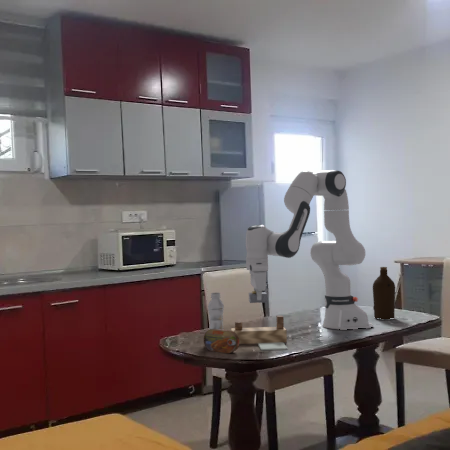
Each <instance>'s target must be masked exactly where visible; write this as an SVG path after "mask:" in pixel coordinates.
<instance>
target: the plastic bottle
mask: <svg viewBox="0 0 450 450" xmlns="http://www.w3.org/2000/svg"><path fill="white" fill-rule="evenodd" d="M210 296H211V297H210V298H211V300H210V301H209V303H208V304H207V311H208V315H209V316H208V317H209V327H208V328H209V329H208V330H210V329H220V330H224V323H223V319H224V318H223V317H224V308H225V306H224V303H223V301H222V300H221V299H220V298H221V292H212V293H210Z"/></svg>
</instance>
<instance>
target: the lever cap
mask: <svg viewBox="0 0 450 450" xmlns="http://www.w3.org/2000/svg"><path fill="white" fill-rule="evenodd" d="M248 302H249V303H250V304H257V303H268V293H267V292H266V291H262V295H261V300H257V292H256V291H254V290H253V291H251V292H248Z"/></svg>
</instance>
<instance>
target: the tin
mask: <svg viewBox="0 0 450 450" xmlns="http://www.w3.org/2000/svg"><path fill="white" fill-rule="evenodd" d="M203 343H204V344H203V345H204V346H205V348H206V349H207V350H209V351H210V352H214V351H215V352H217V353H222V354H230V353H234V352H236V351H237V350H238V349H239V347H240V344H239V337H238V335H237V334H236V333H235V332H234V331H231V329H229V330H228V329H223V330H220V329H210V330H209V329H207V330H206V331H205V333H204V335H203Z"/></svg>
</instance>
